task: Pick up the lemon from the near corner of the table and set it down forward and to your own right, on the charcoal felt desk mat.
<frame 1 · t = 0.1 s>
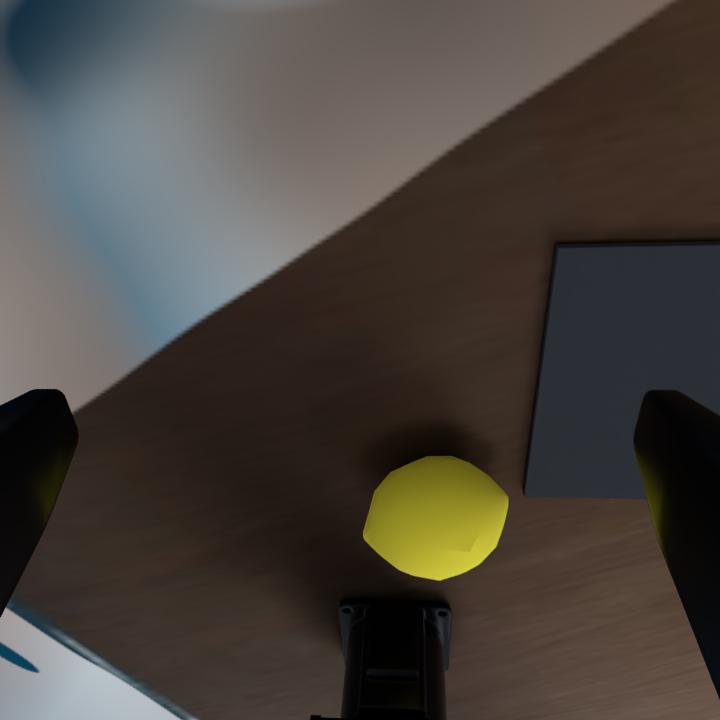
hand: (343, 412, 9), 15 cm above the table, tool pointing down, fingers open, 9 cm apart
lemon: (431, 472, 30), on the table
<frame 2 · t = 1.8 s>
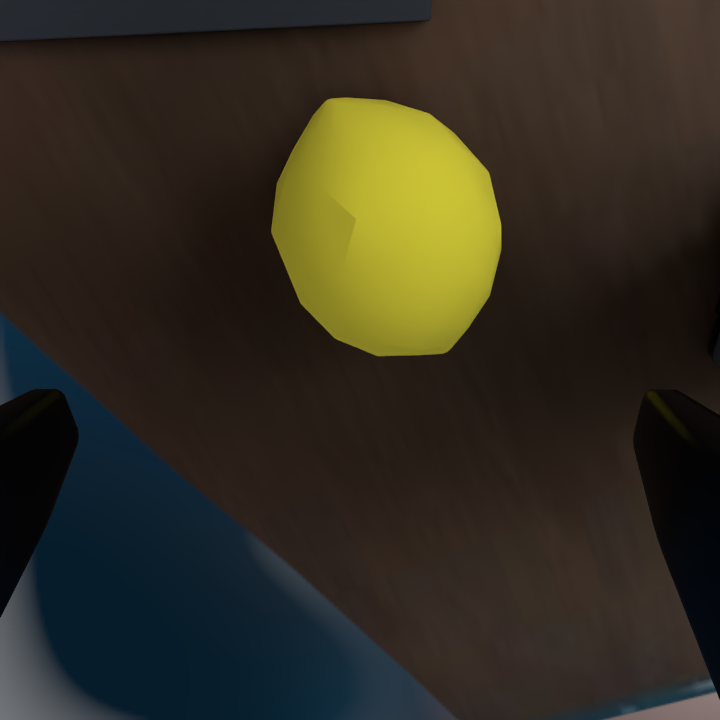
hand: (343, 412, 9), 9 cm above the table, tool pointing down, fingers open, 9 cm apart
lemon: (391, 201, 17), on the table
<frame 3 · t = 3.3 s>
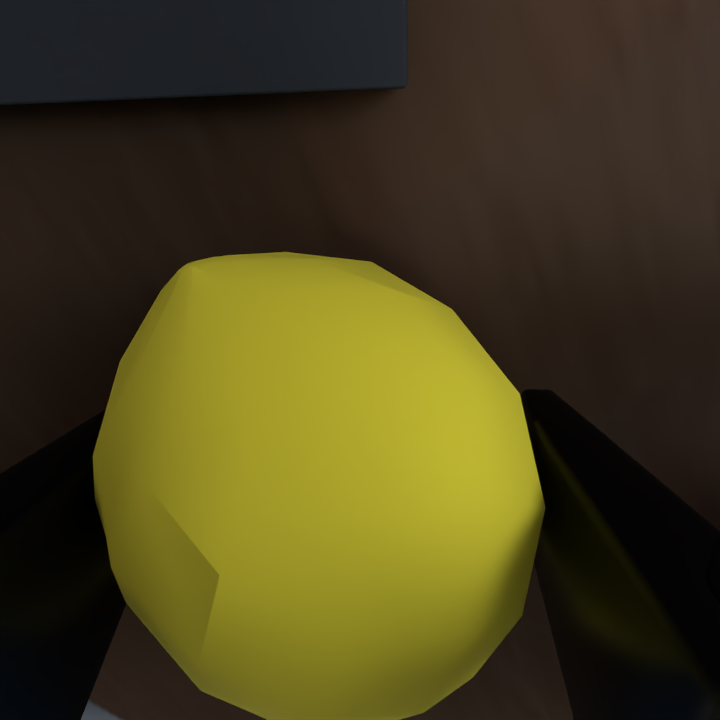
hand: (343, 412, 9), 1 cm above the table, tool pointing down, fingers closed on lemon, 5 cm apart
lemon: (350, 368, 10), on the table, touching gripper
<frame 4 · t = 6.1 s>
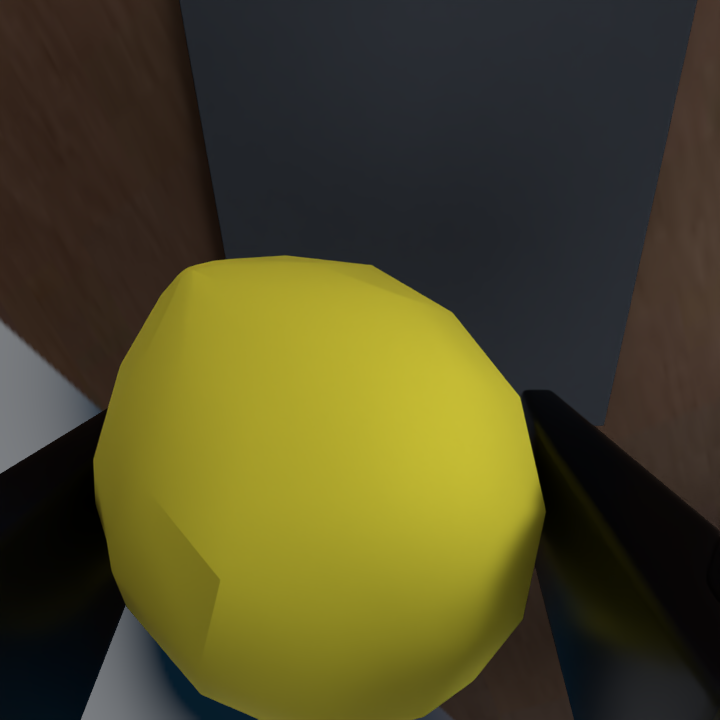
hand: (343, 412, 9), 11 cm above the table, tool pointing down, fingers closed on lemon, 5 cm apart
desk mat: (428, 146, 18), on the table
lemon: (350, 370, 10), point 10 cm above the table, touching gripper
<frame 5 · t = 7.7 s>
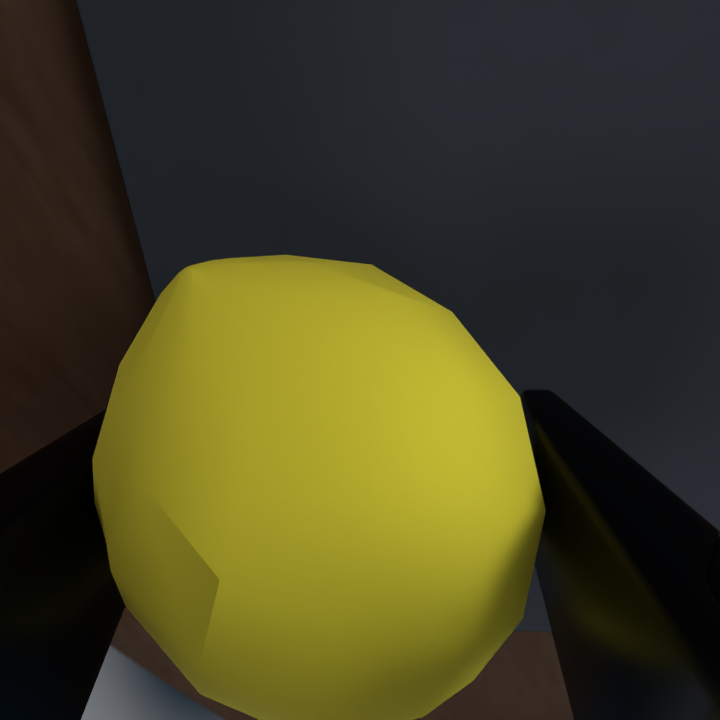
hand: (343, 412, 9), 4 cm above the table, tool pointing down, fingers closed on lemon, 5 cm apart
desk mat: (477, 321, 12), on the table
lemon: (350, 370, 10), point 2 cm above the table, touching gripper
when the fingers open (1 cm above the table, at t = 8.8 s): lemon stays where it is, resting on desk mat.
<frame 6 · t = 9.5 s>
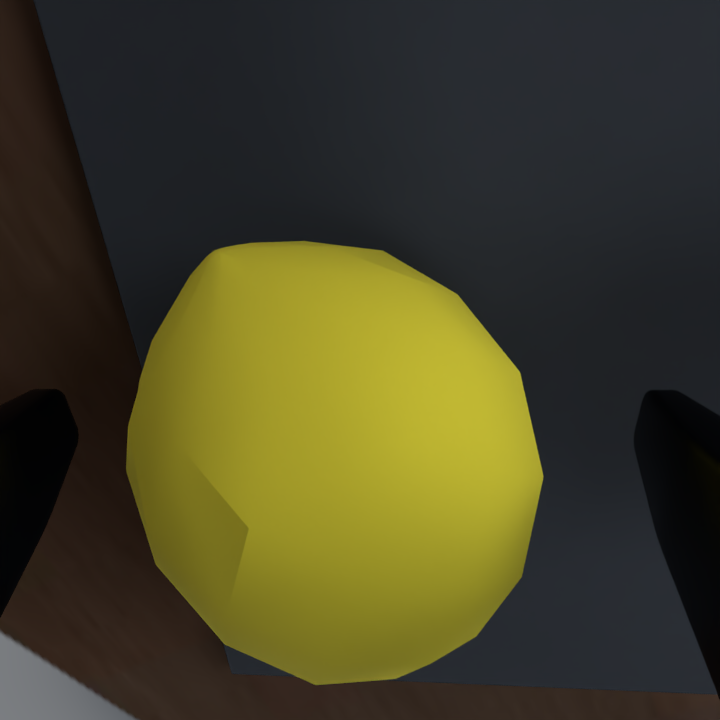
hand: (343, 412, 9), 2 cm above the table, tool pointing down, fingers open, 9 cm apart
desk mat: (491, 366, 11), on the table
lemon: (359, 354, 11), resting on desk mat
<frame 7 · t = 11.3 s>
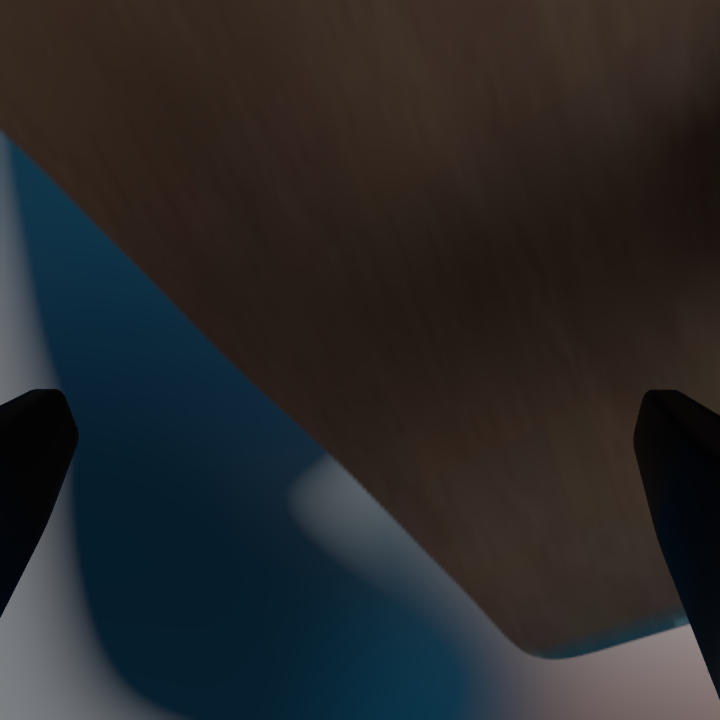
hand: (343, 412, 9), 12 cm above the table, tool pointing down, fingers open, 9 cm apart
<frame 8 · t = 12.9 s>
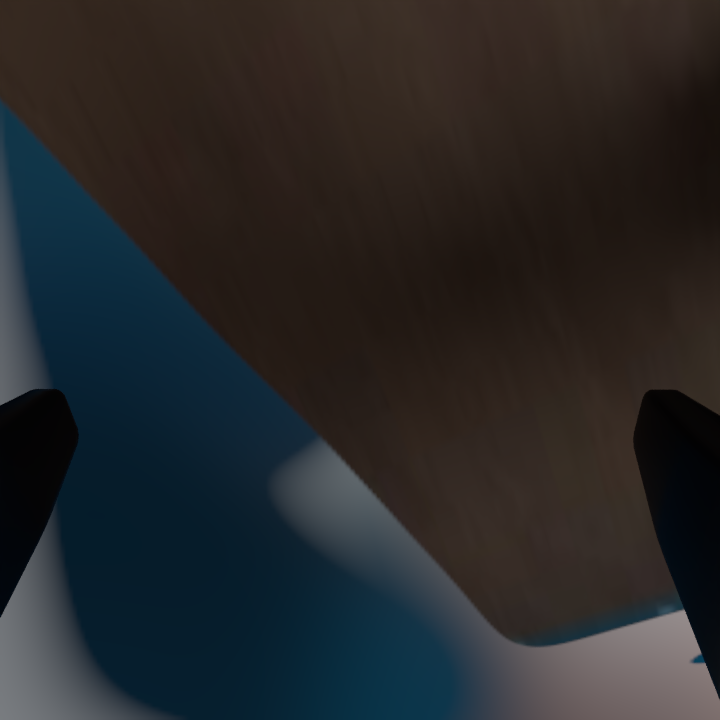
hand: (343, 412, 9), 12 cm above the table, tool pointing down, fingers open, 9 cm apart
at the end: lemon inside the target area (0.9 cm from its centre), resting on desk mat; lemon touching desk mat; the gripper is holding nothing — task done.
